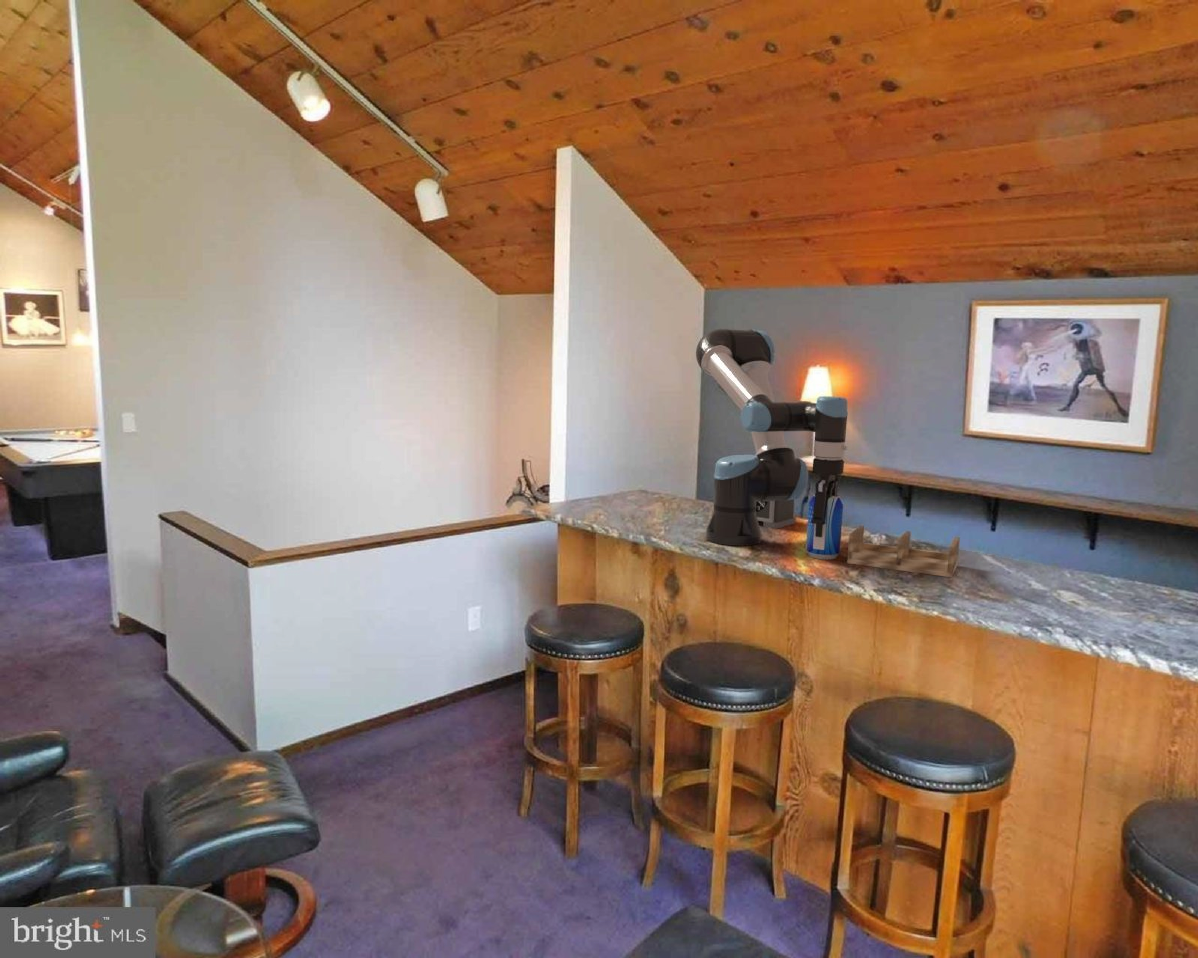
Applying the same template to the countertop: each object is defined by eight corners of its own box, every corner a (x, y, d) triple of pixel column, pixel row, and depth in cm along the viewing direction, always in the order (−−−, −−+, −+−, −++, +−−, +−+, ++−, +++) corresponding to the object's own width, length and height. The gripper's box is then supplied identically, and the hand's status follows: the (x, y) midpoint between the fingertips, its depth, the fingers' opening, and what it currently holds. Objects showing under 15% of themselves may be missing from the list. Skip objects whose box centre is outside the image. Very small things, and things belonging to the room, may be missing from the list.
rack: (847, 562, 200) (849, 534, 199) (858, 552, 211) (860, 525, 210) (951, 577, 188) (954, 547, 187) (957, 565, 199) (959, 537, 198)
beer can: (840, 561, 201) (845, 498, 199) (806, 559, 203) (810, 496, 200) (837, 553, 209) (842, 493, 207) (804, 551, 211) (808, 491, 208)
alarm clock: (723, 519, 251) (726, 461, 248) (745, 514, 261) (748, 458, 258) (776, 528, 239) (779, 468, 236) (797, 522, 249) (800, 464, 246)
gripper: (833, 463, 191) (827, 555, 195) (853, 455, 209) (847, 539, 213) (802, 461, 195) (797, 551, 198) (824, 453, 213) (818, 536, 217)
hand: (823, 545), depth 206 cm, fingers closed on beer can, 8 cm apart
